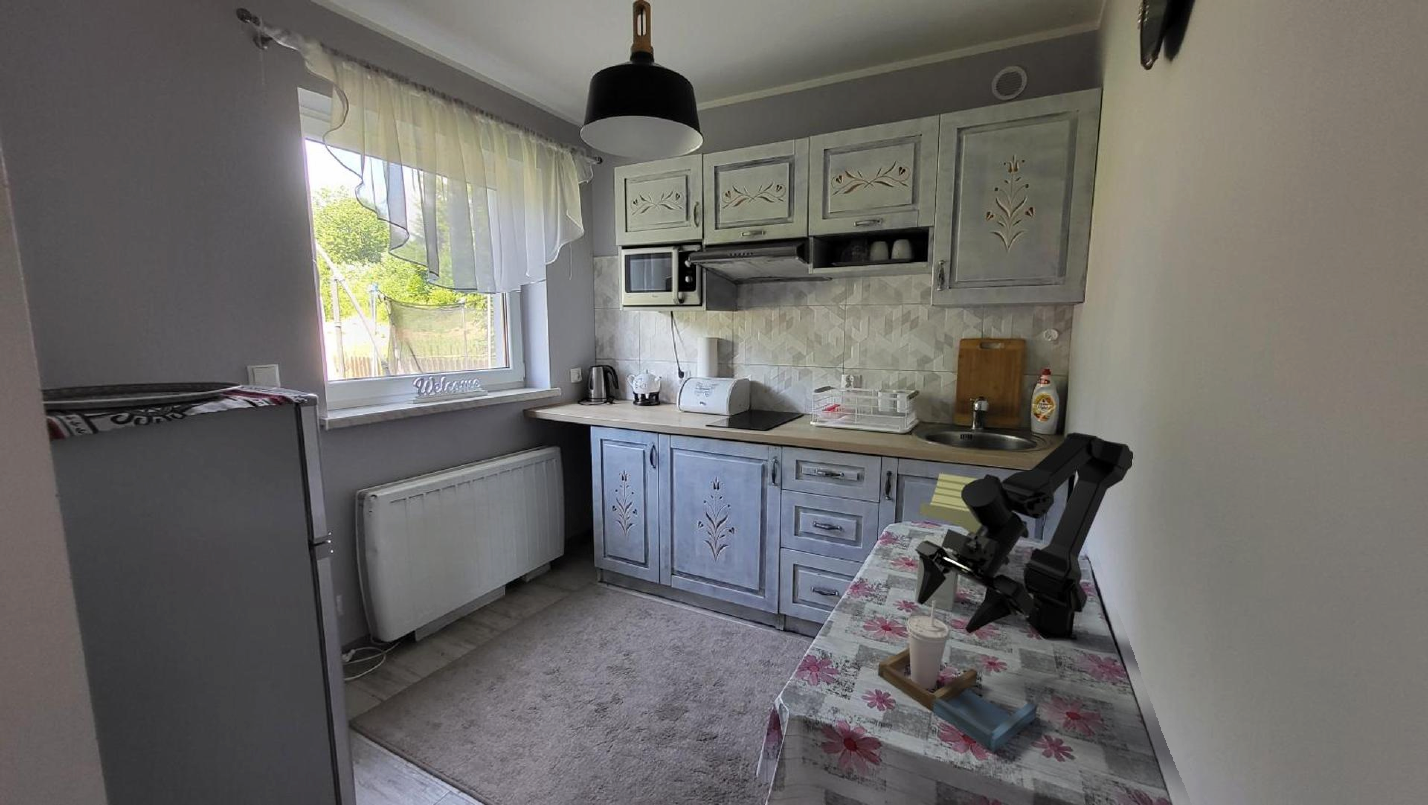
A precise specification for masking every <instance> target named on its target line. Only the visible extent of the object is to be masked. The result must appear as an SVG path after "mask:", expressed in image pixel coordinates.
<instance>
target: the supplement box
mask: <svg viewBox="0 0 1428 805" xmlns="http://www.w3.org/2000/svg"><path fill="white" fill-rule="evenodd" d="M923 538H924V539H923V540H922V541H929V542H932V543H934V544H936V545H938V546H941V547H942V543H943V541H944V538H945V537H938V536H935V535H930V534H929V535H928V534H926V535H925V537H923ZM943 548H944V547H943ZM944 550H945V551H946V552H947V554H948V555H949V556H950V558H951V559H954V560H956V561H957V558H956V557H954V556H953V554H952V553H951V552H952V551H953V550H951V549H949V548H948V549H946V548H944ZM919 556H920V555H919V554H918V566H917V567H918V568H917V577H916V586H915V587H916V588H915V599H914V601H915V602H917V603H919V602H918V597H919V593H920V588H921V584H922V580H923V573H924V566H923V562H922V561H921V560H920V558H919ZM944 576H945V577H946V578H947V579H946V580H945V581H944V582H943V583H942V584H941V586H940V587H939V588H938V589H937V590H936V591H935V592H934V593H933V595H932V596H931V597H930V598H929V599H928V600H927V601H926V602H925V603H924V605H926V606H931V607H932V600H935V601H936V608H937V609H940V610H944V611H947V610H948V612H952V611H953V606H954V603H955V600H956V598H957V590H958V580H959V574H957V573H955V572H953V571H950V572H949V573H946V574H944ZM936 608H935V609H936Z"/></svg>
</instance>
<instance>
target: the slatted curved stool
mask: <svg viewBox="0 0 1428 805" xmlns="http://www.w3.org/2000/svg"><path fill="white" fill-rule="evenodd" d="M977 479H978V478H972V477H966V476H960V475H953V474H947V473H939V474H938V478H937V483H936V485H935V486H936V487H935V490H934V494H933V495H932V498H931V502H930V503H925V502H921V503H920V511H919V512H920V513H919V514H920V516H925V517H931V518H934V519H938V520H940V521H945V522H949V523H952V524H953V525H956V526H958V527H961V528H962V529H964V530H966V531H967V533H969V532H974V533H976V532H977V530H978V529H979V528H980V526H981V524H980V523H978V522H977V521H976V519H975V518H974V516H973V515H972V513H971V512H970V510H969V509H968V507H967V506H966V504H965V503H964V502H963V500H962V498H961V492H962V489H963V487H964V486H965V485H967V484H969V483H970V482H972V481H974V480H977ZM962 570H963V569H962ZM963 571H964V570H963ZM965 572H967V571H965Z"/></svg>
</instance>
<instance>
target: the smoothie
mask: <svg viewBox="0 0 1428 805" xmlns="http://www.w3.org/2000/svg"><path fill="white" fill-rule="evenodd" d="M930 612H931V613H930V616H926V615H915V616H911V617H909V618H908V620H907V623H906V630H907V632H908V641H909V643H908V644H909V648H910V664H909V665H910V680H912V681H913V682H915V683H916V684H918V685H919V686H921V687H922V688H924V689H926V690H932V689H934V688H935V687H936V685H937V682H938V681H937V680H938V677H939V673H940V668H941V664H942V661H943V657H944V652H945V650H946V644H947V641H949V639H950V632H951V631H950V629H949V627H948V626H947V625H946V623H945V622H943V621H941V620H939V619H937V618H935V617H936V601H935V600H932V606H931V611H930Z"/></svg>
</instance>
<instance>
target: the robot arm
mask: <svg viewBox="0 0 1428 805" xmlns="http://www.w3.org/2000/svg"><path fill="white" fill-rule="evenodd" d="M1133 453H1134V452H1133V451H1132V450H1130V447H1129V445H1127V444H1126V443H1121V442H1115V441H1109V440H1104V439H1103V438H1101V437H1098V436H1097V435H1093V434H1087V433H1081V432H1069V433H1067V435H1066V436H1065V437H1064V440H1063V441H1062V442H1061V444H1059V445H1057V447H1056V448H1054V450H1052V451H1051V452H1050V453H1049V454H1048V455H1046V456H1045V457H1044V458H1043V459H1042V460H1041V461H1039V462H1038V463H1037V464H1035V466H1034V467H1031V468H1030V469H1029V470H1023V471H1017V472H1015V473H1013V474H1011V475H1009V476H1008V477H1006V478H1004V479H1003V480H1002V481H1001V480H1000V478H999V477H998V476H996V475H993V474H989V473H986V474H985V476H984V478H976V479H977V480H974V481H972V482H970V483H969V484H967V485H965V486H964V487H963V489H962V492H961V498H962V500H963V502H964V503H965V504H966V506H967V507H968V509H969V510H970V512H971V513H972V515H973V516H974V518H975V519H976V521H977V522H978V523H980V524H981V526H980V528H979V529H978V530H977V532H976V533H974V532H967V535H965V534H962V533H959V532H958V531H955V530H952V529H950V528H947V531H946V533H945V536H944V537H943V538H944V541H943V543H942V547H941V546H938V545H936V544H934V543H932V542H929V541H923V540H922V541H921V542H920V543H919V544H918V546H917V547H916V548H915V552H916V553H917V554H918V559H919V558H920V560H921V561H922V562H923V566H924V573H923V580H922V584H921V588H920V593H919V597H918V602H917V603H919V605H921V606H923V604H924V603H925V602H926V601H927V600H928V599H929V598H930V597H931V596H932V595H933V593H934V592H935V591H936V590H937V589H938V588H939V587H940V586H941V584H942V583H943V582H944V581H945V580H946V579H947V578H946V577H945V576H944V574H946V573H949V572H950V571H953V572H955V573H957V574H958V576H960V577H963V578H965V579H967V580H969V581H970V582H971V581H972V582H974V583H975V584H977V585H978V586H981V587H983V588H986V589H985V594H984V598H983V601H982V602H981V603H980V605H979V607H978V608H977V609H976V611H975V612H974V613H973V615H972V616H971V617H970V619H969V621H968V622H967V625H966V627H965V631H966V632H967V633H968V634H972V633H973V632H976V631H977V630H980V629H982V628H983V627H985V626H987V625H990V624H991V623H993V622H996V621H998V620H1000V619H1003V618H1006V617H1008V616H1013V617H1014V618H1015V617H1018V615H1019V614H1021V615H1022V616H1024V617H1025V618H1024V621H1025V622H1027V624H1029V626H1031V627H1032V628H1033V630H1035V631H1036V632H1037V633H1038V634H1039V636H1040V637H1042V638H1044V639H1057V640H1058V639H1059V640H1078V638H1079V636H1078V635H1077V634H1076V633H1075V632H1074V631H1073V630H1074V629H1073V628H1074V621H1075V615H1076V612H1077V613H1082V612H1083V610H1084V608H1085V606H1086V604H1087V600H1088V595H1087V593H1086V592H1085V590H1084V589H1083V587H1082V586H1081V583H1080V582H1081V580H1082V577H1083V574H1082V569H1081V567H1080V562H1079V556H1080V553H1081V552H1082V549H1083V546H1084V545H1085V543H1086V542H1085V541H1086V540H1087V537H1088V535H1089V532H1090V530H1091V528H1092V525H1093V523H1094V521H1095V519H1096V516H1097V515H1098V511H1099V509H1100V507H1101V504H1102V502H1103V499H1104V497H1105V495H1106V493H1107V491H1108V490H1109V489H1110V488H1112V487H1113V486H1115V485H1117V484H1118V483H1120V482H1121V481H1123V479H1124V478H1125V476H1126V474H1127V473H1128V471H1129V470H1130V469H1131V468H1132V466H1133V465H1132V459H1133ZM1075 473H1076V474H1077V480H1076V481H1075V485H1074V487H1073V488H1072V491H1071V492H1070V493H1071V494H1070V496H1069V498H1068V501H1067V502H1066V505H1065V507H1064V508H1063V511H1062V514H1061V517H1060V519H1059V521H1058V524H1057V526H1056V528H1055V530H1054V532H1053V535H1052V536H1051V540H1050V542H1049V543H1048V545H1046V546H1045V547H1043V548H1041V549H1040V548H1037V547H1036V548H1035V549H1033V551H1032V553H1031V555H1030V558H1029V560H1028V562H1027V563H1026V564H1025V567H1024V569H1023V582H1024V583H1022V582H1021V581H1018V580H1015V579H1013V578H1011V577H1009V576H1006V575H1005V574H998V575H996V574H997V573H998V572H999V570H1000V568H1001V567H1002V565H1004V566H1006V567H1007V566H1008V564H1009V563H1010V562H1011V560H1010V559H1009V557H1008V556H1009V554H1010V553H1011V552H1012V550H1013V549H1014V547H1015V546H1016V544H1017V543H1018V541H1019V539H1020V538H1025V539H1028V538H1029V534H1030V533H1029V529H1028V522H1027V521H1025V520H1022V518H1021V516H1019V515H1018V514H1020V515H1022V516H1026V517H1028V518H1030V519H1031V518H1032V519H1034V520H1035V519H1036V520H1039V519H1041V518H1042V517H1044V516H1045V514H1047V513H1048V512H1049V511H1050V509H1051V507H1052V506H1053V505H1054V504H1055V492H1056V491H1057V490H1058V489H1059V488H1060V487H1061V486H1062V485H1063V484H1064V483H1065V482H1066V481H1068V480H1069V479H1070V478H1071V477H1072V476H1073V475H1074V474H1075ZM943 547H944V548H946V549H948V548H949V549H951V550H953V551H952V552H951V553H952V554H953V556H954V557H956V558H957V561H956V560H954V559H951V558H950V556H949V555H948V554H947V552H946V551H945V550H944V548H943ZM919 555H920V556H919ZM962 569H963V570H964V571H963V570H962ZM965 571H967V572H965ZM924 605H925V604H924Z"/></svg>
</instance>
